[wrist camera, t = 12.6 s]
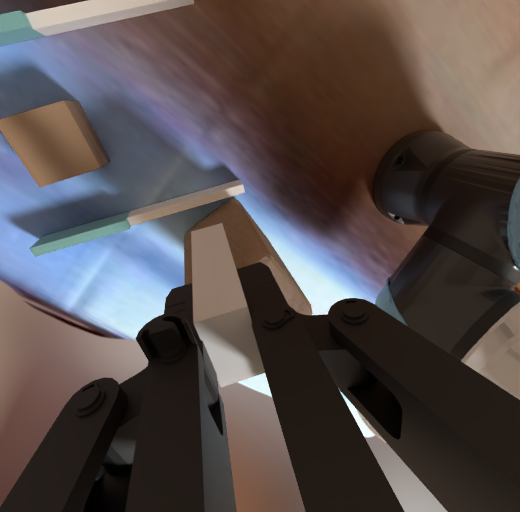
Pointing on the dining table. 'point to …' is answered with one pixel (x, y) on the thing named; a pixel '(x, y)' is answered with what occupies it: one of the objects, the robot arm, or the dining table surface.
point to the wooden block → (248, 250)
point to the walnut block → (54, 141)
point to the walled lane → (81, 16)
